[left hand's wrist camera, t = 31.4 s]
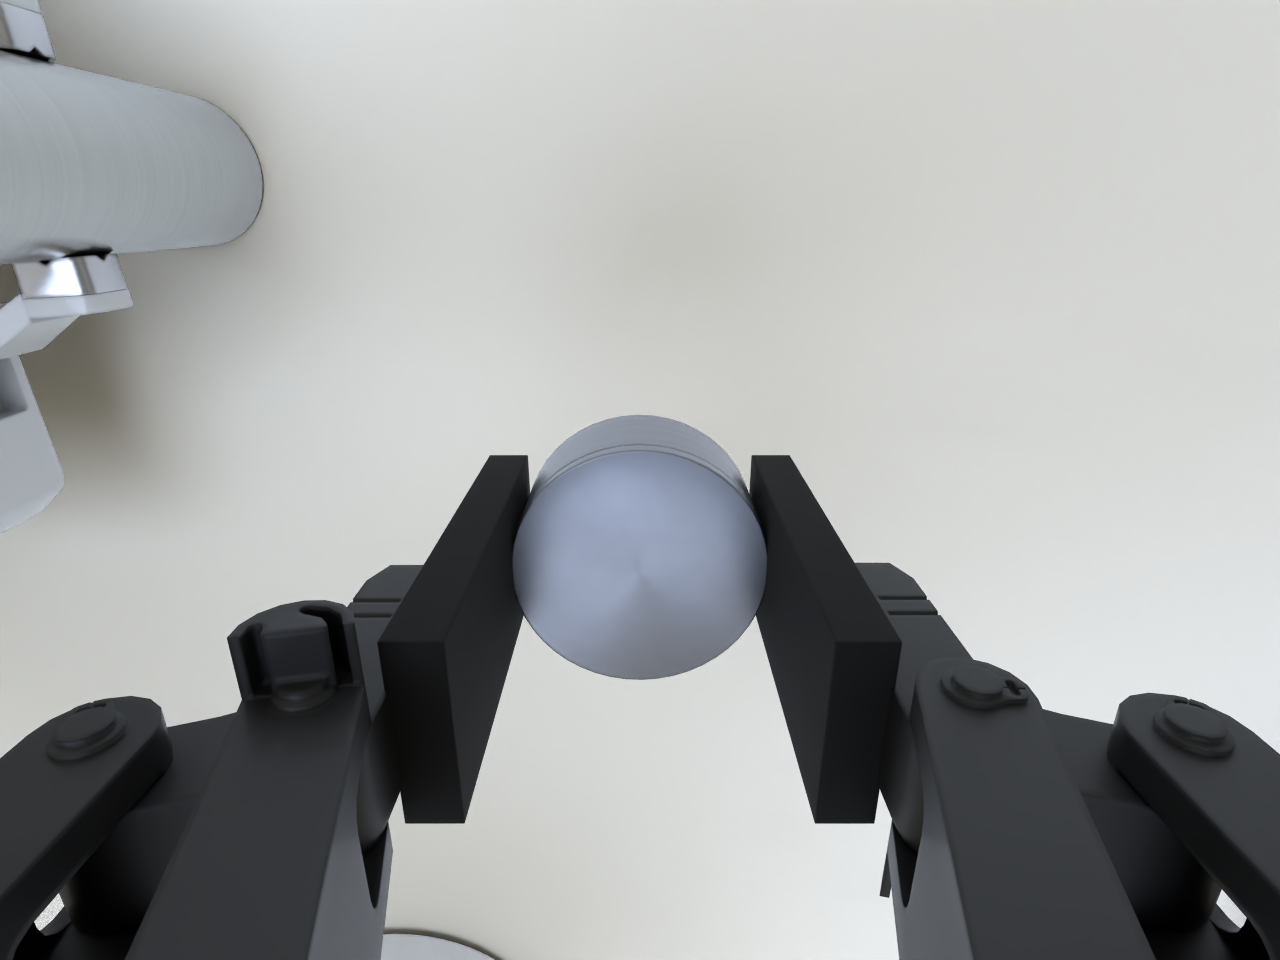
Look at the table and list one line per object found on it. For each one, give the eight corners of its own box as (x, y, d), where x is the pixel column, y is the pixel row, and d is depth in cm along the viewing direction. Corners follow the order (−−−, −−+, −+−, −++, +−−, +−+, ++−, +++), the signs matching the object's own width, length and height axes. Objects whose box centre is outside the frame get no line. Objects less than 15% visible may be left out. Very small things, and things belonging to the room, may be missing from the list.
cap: (794, 537, 15) (819, 591, 13) (622, 653, 16) (620, 720, 14) (659, 366, 13) (663, 395, 11) (482, 504, 14) (455, 554, 12)
